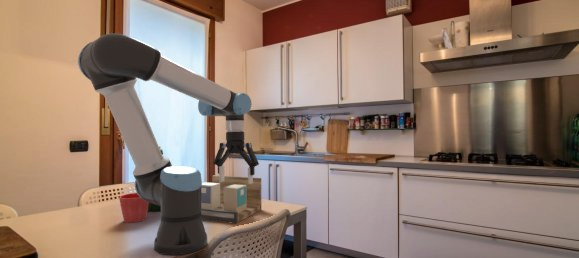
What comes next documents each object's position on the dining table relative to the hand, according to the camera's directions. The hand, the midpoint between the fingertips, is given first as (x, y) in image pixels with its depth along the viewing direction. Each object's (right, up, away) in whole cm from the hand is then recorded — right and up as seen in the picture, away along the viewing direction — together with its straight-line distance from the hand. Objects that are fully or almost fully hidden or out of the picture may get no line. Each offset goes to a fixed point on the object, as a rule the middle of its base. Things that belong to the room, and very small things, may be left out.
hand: (235, 182), depth 124 cm
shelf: (-6, -14, +4) cm, 15 cm away
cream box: (-13, -12, +6) cm, 18 cm away
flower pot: (-39, -14, -6) cm, 42 cm away
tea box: (0, -12, 0) cm, 11 cm away
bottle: (-37, -14, +10) cm, 41 cm away
